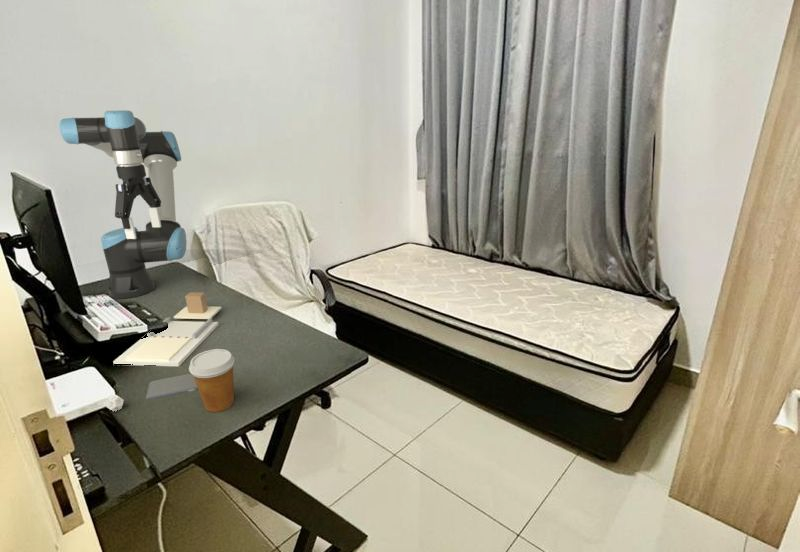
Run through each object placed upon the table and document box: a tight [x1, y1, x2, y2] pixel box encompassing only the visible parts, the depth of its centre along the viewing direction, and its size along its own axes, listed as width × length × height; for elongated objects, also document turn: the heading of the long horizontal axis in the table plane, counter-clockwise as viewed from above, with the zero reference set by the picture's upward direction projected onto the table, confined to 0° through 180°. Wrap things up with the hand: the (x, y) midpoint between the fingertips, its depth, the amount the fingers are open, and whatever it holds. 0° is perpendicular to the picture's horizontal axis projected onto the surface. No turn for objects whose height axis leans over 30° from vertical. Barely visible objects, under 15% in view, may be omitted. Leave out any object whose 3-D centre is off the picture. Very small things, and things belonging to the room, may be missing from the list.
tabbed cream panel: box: [173, 291, 222, 320], centre depth 147 cm, size 8×12×7 cm, turn 86°
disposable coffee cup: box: [188, 348, 235, 413], centre depth 104 cm, size 10×10×12 cm
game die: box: [105, 394, 125, 413], centre depth 104 cm, size 4×4×3 cm
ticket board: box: [112, 317, 220, 367], centre depth 132 cm, size 24×18×2 cm
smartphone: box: [145, 372, 199, 400], centre depth 113 cm, size 8×1×15 cm
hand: (144, 232), depth 146 cm, fingers open, 13 cm apart
